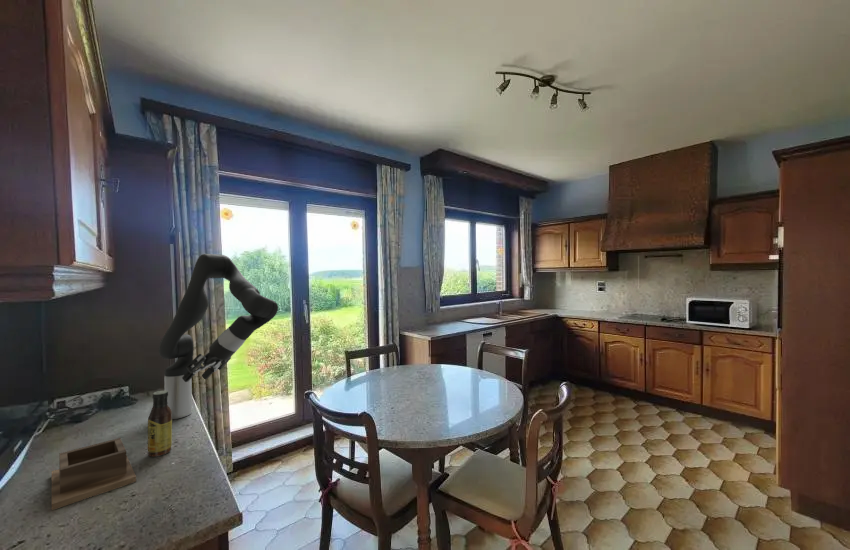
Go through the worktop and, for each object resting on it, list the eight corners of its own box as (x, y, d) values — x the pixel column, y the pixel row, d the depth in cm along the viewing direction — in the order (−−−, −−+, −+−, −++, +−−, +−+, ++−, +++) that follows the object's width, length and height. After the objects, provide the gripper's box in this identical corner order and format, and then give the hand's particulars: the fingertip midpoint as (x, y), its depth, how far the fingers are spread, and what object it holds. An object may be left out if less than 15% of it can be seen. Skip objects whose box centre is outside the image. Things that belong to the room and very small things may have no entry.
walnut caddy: (51, 476, 100) (51, 450, 100) (124, 455, 112) (124, 431, 112) (51, 510, 85) (51, 479, 85) (136, 481, 97) (135, 454, 97)
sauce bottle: (146, 453, 113) (145, 392, 113) (169, 446, 117) (169, 387, 117) (149, 460, 108) (149, 396, 108) (174, 452, 113) (173, 391, 113)
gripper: (235, 335, 126) (203, 369, 125) (206, 334, 112) (170, 372, 111) (248, 350, 124) (215, 384, 123) (220, 351, 111) (184, 389, 110)
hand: (194, 378), depth 117 cm, fingers open, 8 cm apart
